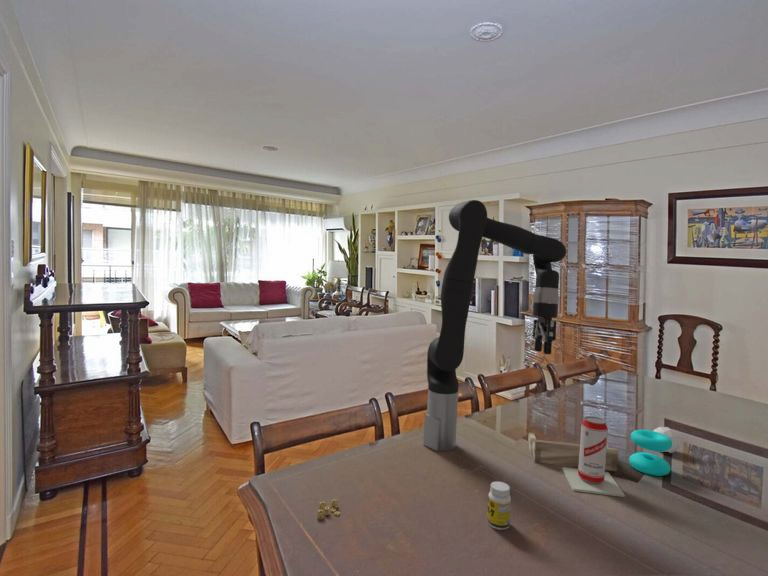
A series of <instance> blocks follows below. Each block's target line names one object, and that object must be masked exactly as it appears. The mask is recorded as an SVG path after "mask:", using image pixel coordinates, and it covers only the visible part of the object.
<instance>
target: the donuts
mask: <svg viewBox="0 0 768 576" xmlns="http://www.w3.org/2000/svg"><path fill="white" fill-rule="evenodd" d="M630 439H631V441H632V443H634V444H635V445H636V446H638V447H640V448H642V449H644V450H647V451H651V452H660V453H663V452H662V451H667V450H669V449H670V448H671V447H672V441H671V439H670V438H669V437H667V436H666V435H664V434H661V433H658V432H655V431H653V430H649V429H635V430H633V431H632V432H631V434H630ZM628 461H629V464H630V465H631V467H632V468H633V469H635V470H637V471H638V472H640V473H643V474H647V475H649V476H656V477H657V476H658V477H663V476H667V475H668V474H670V472H671V465H670V464H669V462H668V461H667V460H666V459H665V458H664V457H661V456H659V455H656V454H653V453H650V452H643V451H642V452H641V451H640V452H635V453H633V454H632V455H630V456H629V459H628Z"/></svg>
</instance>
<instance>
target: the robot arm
mask: <svg viewBox="0 0 768 576" xmlns="http://www.w3.org/2000/svg"><path fill="white" fill-rule="evenodd" d="M448 221H449V224H450V226H451V227H452V228H453V229H454V230H455V231H457V232H458V235H457V240H456V241H457V242H456V246H455V248H454V251H453V253H452V255H451V258H450V259H449V261H448V263H447V265H446V267H445V270H444V272H443V276H442V277H443V278H442V283H441V291H440V307H441V327H440V328H441V329H440V332H439V336H438V337H436V338H433V340H432V341H431V342H430V343H429V345H428V348H427V360H426V361H427V362H426V363H427V364H426V379H427V384H428V385H427V403H426V404H427V407H426V414H424V423H423V442H422V443H423V444H422V445H424V446H425V447H428V448H429V449H432V450H433V451H436V452H440V451H442V452H443V451H444V452H445V451H446V452H447V451H451V450H454V449H455V448H456V445H457V428H458V427H457V425H458V424H457V423H458V406H459V405H458V403H459V381H458V378H457V371H456V369H458V368H459V367H460V366H461V364H462V363H463V359H464V354H465V353H464V352H465V337H466V325H467V321H468V316H469V311H470V305H471V300H472V295H473V290H474V283H475V276H476V275H475V274H476V270H477V264H478V259H479V252H480V248H481V244H482V240H483V238H485V239H488V240H490V241H493V242H496V243H499V244H501V245H504V246H506V247H508V248H510V249H512V250H515V251H518V252H519V253H521V254H522V253H523V254H524V255H525V254H526V255H532V260H533V266H534V273H535V275H536V276H535V286H534V287H535V288H534V293H533V301H532V302H533V303H532V304H533V306H532V316H533V317H537V319H533V326H532V327H533V328H532V338H533V339H534V348H533V349H534V352H539V353H541V352H542V350H543V354H544V355H551V354H552V349H553V348H552V347H553V345H552V344H553V342H554V341H556V340H557V339H556V337H557V321H556V320H553V319H556V318H558V313H559V300H560V299H559V298H560V296H559V285H560V273H559V272H558V271H556V270H555V269H553V268H552V267H553V266H552V264H553V263H557V262H560V261H562V260H563V259H564V258H565V256H566V255H567V248H566V246H565V244H564V243H563V242H562V241H560V240H559V239H556V238H553V237H550V236H546V235H542V234H541V235H539V234H537V233H534V232H532V231H530V230H528V229H526V228H523V227H521V226H517V225H515V224H510V223H505V222H502V221H499V220H496V219H492V218H489V217H488V210H487V207H486V205H485V204H484V203H483V202H482V201H480V200H477V199H472V200H471V199H470V200H468V201H463V202H459V203H457V204H455V205H453V207H452V208H451V209H450V210H449V214H448Z"/></svg>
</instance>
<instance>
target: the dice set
mask: <svg viewBox="0 0 768 576" xmlns="http://www.w3.org/2000/svg"><path fill="white" fill-rule="evenodd" d="M330 502H331V503H330V506H327V502H326V501H321V502H319V504H318V508H319V509H318V510H317V511H316V518H317V520H323V519H324V518H325V516H329V515H330V513H333V515H334V516H336V517H338V516H340V515H341V512H340V511H337V508H338V507H339V500H338V499H331V501H330ZM330 507H331V509H330Z"/></svg>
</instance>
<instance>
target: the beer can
mask: <svg viewBox="0 0 768 576" xmlns="http://www.w3.org/2000/svg"><path fill="white" fill-rule="evenodd" d="M606 423H607V421H606V419H603V418H601V417H597V416H589V415H588V416H584V418H583V421H582V423H581V424H580V426H581V428H580V441H579V444H580V453H579V466H578V467H577V469H578V475H579V476H580V478H581V479H582V480H583V481H585V482H587V483H591V484H600V483H601V482H603V481H604V478H605V472H606V470H605V464H606V450H607V445H608V433H609V429H608V426H607V424H606Z"/></svg>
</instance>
